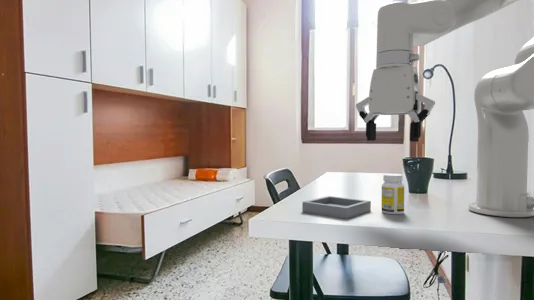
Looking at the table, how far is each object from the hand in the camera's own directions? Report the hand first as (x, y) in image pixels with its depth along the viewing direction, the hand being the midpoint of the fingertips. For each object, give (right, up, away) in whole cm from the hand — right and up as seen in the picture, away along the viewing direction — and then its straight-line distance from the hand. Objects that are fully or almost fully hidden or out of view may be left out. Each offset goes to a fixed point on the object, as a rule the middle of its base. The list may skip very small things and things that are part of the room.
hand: (391, 140), depth 84 cm
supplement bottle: (0, -16, +1) cm, 16 cm away
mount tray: (-12, -16, +2) cm, 20 cm away
